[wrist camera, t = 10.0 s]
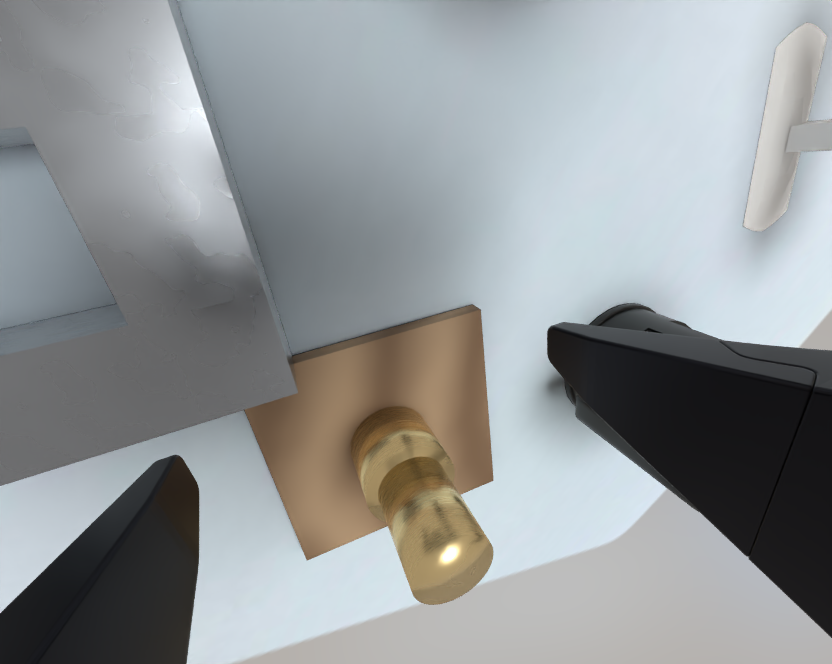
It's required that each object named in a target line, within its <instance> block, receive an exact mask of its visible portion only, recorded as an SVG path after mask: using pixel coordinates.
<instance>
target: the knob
mask: <svg viewBox="0 0 832 664" xmlns="http://www.w3.org/2000/svg"><path fill="white" fill-rule="evenodd" d="M350 450H351V456H352V459H353V462H354V465H355V468H356V471H357V474H358V478H359V481H360V484H361V487H362V490H363V493H364V496H365V499H366V502H367V505H368V508H369V510H370V511H371V513H372V514H373V515H374V516H375V517H376V518H378V519H379V520H381V521H384V522H387V525H388V528H389V530H390V533H391V536H392V539H393V541H394V544H395V547H396V550H397V552H398V555H399V558H400V561H401V563H402V566H403V569H404V572H405V574H406V577H407V580H408V582H409V585H410V588H411V591H412V593H413V596H414V597H415V598H416V599H417V600H418V601H419V602H421V603H424V604H429V605H434V604H442V603H446V602H449V601H452V600H454V599H456V598H458V597H460V596H462V595H463V594H465V593H467V592H468V591H469V590H471V589H472V588H473V587H474V586H475V585H477V584H478V583H479V581H480V580H481V579H482V578H483V577H484V575H485V574H486V573H487V571H488V569H489V567H490V565H491V563H492V559H493V547H492V545H491V543H490V542H489V540H488V538H487V537H486V535H485V534H484V532H483V530H482V529H481V527H480V526H479V524H478V522H477V521H476V519H475V518H474V516H473V515H472V513H471V511H470V510H469V508H468V507H467V505H466V503H465V502H464V500H463V499H462V497H461V495H460V494H459V492H458V491H457V489H456V487H455V486H454V484H453V481H454V475H455V470H454V465H453V462H452V460H451V459H450V457H449V456H448V454H447V453H446V451H445V450H444V448H443V447H442V445H441V444H440V442H439V441H438V439H437V438H436V436H435V435H434V433H433V432H432V430H431V429H430V428H429V426H428V425H427V423H426V422H425V420H424V419H423V417H422V416H421V415H420V414H419V413H418V412H417V411H415V410H413V409H411V408H408V407H403V406H393V407H387V408H384V409H381V410H379V411H377V412H375V413H373V414H371V415H370V416H368V417H367V418H366V419H365V420H364V421H363V422H362V423H361V424H360V425H359V426H358V428H357V429H356V431H355V433H354V435H353V437H352V441H351V446H350Z"/></svg>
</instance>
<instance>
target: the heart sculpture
mask: <svg viewBox="0 0 832 664" xmlns="http://www.w3.org/2000/svg"><path fill="white" fill-rule="evenodd" d="M826 40H827V36H826V35H825V33H824V32H823V31H822V30H821V29H820V28H818V27H817V26H816V25H814V24H810V23H807V22H806V23H805V24H803V25H801V26H799V27H798V28H796V29H795V30H794V31H793V32H792V33H790V34H789V35H788V36H787V37H786V38H785V39H784V40H783V41H782V42H781V43H780V44H779V45H778V46H777V47H776V51H775V56H774V61H773V67H772V72H771V78H770V83H769V88H768V94H767V99H766V105H765V110H764V115H763V121H762V126H761V131H760V137H759V142H758V148H757V153H756V158H755V164H754V169H753V175H752V180H751V185H750V191H749V196H748V202H747V207H746V212H745V218H744V223H743V226H744V227H746V228H748V229H750V230H753V231H764V230H765V229H767V228H768V227H770V226H771V225H772V224H773V223H774V222H775V221H777V220H778V219H779V218H780V217H781V216H782V215H783V214H784V213H785V212H786V211H787V208H788V204H789V200H790V195H791V191H792V187H793V182H794V178H795V174H796V169H797V165H798V161H799V157H800V152H807V151H830V150H832V119H829V120H819V121H809V122H808V118H809V114H810V109H811V105H812V101H813V96H814V92H815V88H816V83H817V79H818V75H819V71H820V66H821V62H822V58H823V53H824V49H825V45H826Z"/></svg>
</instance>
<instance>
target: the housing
mask: <svg viewBox="0 0 832 664" xmlns="http://www.w3.org/2000/svg"><path fill="white" fill-rule="evenodd" d="M30 144H35V146H36V148H37V150H38V152H39V154H40V156H41V158H42V160H43V162H44V164H45V165H46V167H47V169H48V171H49V173H50V175H51V177H52V179H53V181H54V183H55V185H56V187H57V189H58V191H59V193H60V194H61V196H62V198H63V200H64V202H65V204H66V206H67V208H68V210H69V212H70V214H71V216H72V218H73V220H74V221H75V223H76V225H77V227H78V229H79V231H80V233H81V235H82V237H83V239H84V241H85V243H86V245H87V247H88V248H89V250H90V252H91V254H92V256H93V258H94V260H95V262H96V264H97V266H98V268H99V270H100V272H101V274H102V276H103V277H104V279H105V281H106V283H107V285H108V287H109V289H110V291H111V293H112V295H113V297H114V299H115V301H116V303H117V304H113V305H109V306H104V307H100V308H95V309H91V310H86V311H82V312H77V313H73V314H68V315H64V316H59V317H55V318H51V319H46V320H42V321H37V322H33V323H28V324H24V325H19V326H15V327H10V328H6V329H1V330H0V486H2V485H5V484H8V483H11V482H14V481H18V480H21V479H24V478H27V477H30V476H34V475H37V474H40V473H43V472H46V471H50V470H53V469H56V468H59V467H62V466H66V465H69V464H72V463H75V462H78V461H82V460H85V459H88V458H91V457H94V456H98V455H101V454H104V453H107V452H111V451H114V450H117V449H120V448H123V447H127V446H130V445H133V444H136V443H139V442H143V441H146V440H149V439H152V438H155V437H159V436H162V435H165V434H168V433H171V432H175V431H178V430H181V429H184V428H187V427H191V426H194V425H197V424H200V423H203V422H207V421H210V420H213V419H216V418H219V417H223V416H226V415H229V414H232V413H235V412H239V411H242V410H245V409H248V408H252V407H255V406H258V405H261V404H264V403H268V402H271V401H274V400H277V399H280V398H284V397H287V396H290V395H293V394H296V393H298V389H297V382H296V376H295V370H294V364H293V358H292V354H291V351H290V348H289V345H288V342H287V339H286V335H285V332H284V329H283V326H282V323H281V320H280V317H279V314H278V311H277V308H276V305H275V302H274V299H273V295H272V292H271V289H270V286H269V283H268V280H267V277H266V274H265V271H264V268H263V265H262V262H261V259H260V255H259V252H258V249H257V246H256V243H255V240H254V237H253V234H252V231H251V228H250V225H249V222H248V219H247V216H246V212H245V209H244V206H243V203H242V200H241V197H240V194H239V191H238V188H237V185H236V182H235V179H234V176H233V172H232V169H231V166H230V163H229V160H228V157H227V154H226V151H225V148H224V145H223V142H222V139H221V136H220V132H219V129H218V126H217V123H216V120H215V117H214V114H213V111H212V108H211V105H210V102H209V99H208V96H207V92H206V89H205V86H204V83H203V80H202V77H201V74H200V71H199V68H198V65H197V62H196V59H195V56H194V53H193V49H192V46H191V43H190V40H189V37H188V34H187V31H186V28H185V25H184V22H183V19H182V16H181V13H180V9H179V6H178V3H177V0H0V148H5V147H14V146H22V145H30Z"/></svg>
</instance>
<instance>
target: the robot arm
mask: <svg viewBox="0 0 832 664" xmlns="http://www.w3.org/2000/svg"><path fill="white" fill-rule="evenodd" d="M547 354H548V358H549V360H550V362H551V364H552V365H553V366H554V367H555V368H556V369H557V371H558V372H559V373H560V374H561V375H562V376H563V378H564V379H565V380H566V381H567V382H568V383H569V385H570V386H571V387H572V388H573V389H574V390H575V392H576V393H577V394H578V395H579V396H580V397H581V398H582V400H583V401H584V402H585V403H586V404H587V405H588V406H589V407H590V408H591V409H592V410H593V411H594V412H595V413H596V414H597V415H598V416H599V417H600V418H601V419H603V420H604V421H605V422H606V423H607V424H608V425H609V426H610V427H611V428H612V429H613V430H614V431H615V432H616V433H617V434H618V435H619V436H620V437H621V438H622V439H624V440H625V441H626V442H627V443H628V444H629V445H630V446H631V447H632V448H633V449H634V450H635V451H636V452H637V453H638V454H639V455H640V456H641V457H642V458H644V459H645V460H646V461H647V462H648V463H649V464H650V465H651V466H652V467H653V468H654V469H655V470H656V471H657V472H658V473H659V474H660V475H661V476H662V477H663V478H665V479H666V480H667V481H668V482H669V483H670V484H671V485H672V486H673V487H674V488H675V489H676V490H677V491H678V492H679V493H680V494H681V495H682V496H683V497H685V498H686V499H687V500H688V501H689V502H690V503H691V504H692V505H693V506H694V507H695V508H696V509H697V510H698V511H699V512H700V513H701V514H702V515H704V517H706V518H707V519H708V520H709V521H710V522H711V523H712V524H713V525H714V526H715V527H716V528H717V529H718V530H719V531H720V532H721V533H722V534H723V535H724V536H726V537H727V538H728V539H729V540H730V541H731V542H732V543H733V544H734V545H735V546H736V547H737V548H738V549H739V550H740V551H741V552H742V553H743V554H744V555H746V556H749V560H750V561H751V562H752V563H754V564H755V565H756V566H757V567H758V568H759V569H760V570H761V571H762V572H763V573H764V574H765V575H766V576H767V577H768V578H769V579H770V580H771V581H772V582H773V583H775V584H776V585H777V586H778V587H779V588H780V589H781V590H782V591H783V592H784V593H785V594H786V595H787V596H788V597H789V598H790V599H791V600H792V601H794V603H796V604H797V605H798V606H799V607H800V608H801V609H802V610H803V611H804V612H805V613H806V614H807V615H808V616H809V617H810V618H811V619H812V620H814V622H815V623H817V624H818V625H819V626H820V627H821V628H822V629H823V630H824V631H825V632H826V633H827V634H828V635H829V636H830V637H831V638H832V351H830V350H817V349H805V348H793V347H781V346H770V345H760V344H751V343H741V342H732V341H724V340H720V341H718V340H714V339H706V338H697V337H688V336H680V335H671V334H662V333H654V332H645V331H636V330H628V329H619V328H610V327H602V326H593V325H584V324H575V323H567V322H562V323H559V324H556V325H553V326H551V327H549V329H548V331H547ZM198 564H199V488H198V484H197V482H196V480H195V478H194V477H193V475H192V473H191V472H190V470H189V468H188V467H187V465H186V463H185V462H184V460H183V459H182V458H181V457H180V456H178V455H173V456H170V457H167V458H164V459H161V460H158V461H156V462H155V463H153V464H152V465H151V466H150V467H149V468H148V469H147V470H146V471H145V472H144V473H143V474H142V475H141V476H140V477H139V478H138V479H137V480H136V481H135V482H134V483H133V484H132V485H131V486H130V487H129V488H128V489H127V490H126V491H125V492H124V493H123V494H122V495H121V496H120V497H119V498H118V499H117V500H116V501H115V502H114V503H113V504H112V505H111V506H109V507H108V508H107V509H106V510H105V511H104V512H103V513H102V514H101V515H100V516H99V517H98V518H97V519H96V520H95V521H94V522H93V523H92V524H91V525H90V526H89V527H88V528H87V529H86V530H85V531H84V532H83V533H82V534H81V535H80V536H79V537H78V538H77V539H76V540H75V541H74V542H73V543H72V544H71V545H70V546H69V547H68V548H67V549H66V550H65V551H63V552H62V553H61V554H60V555H59V556H58V557H57V558H56V559H55V560H54V561H53V562H52V563H51V564H50V565H49V566H48V567H47V568H46V569H45V570H44V571H43V572H42V573H41V574H40V575H39V576H38V577H37V578H36V579H35V580H34V581H33V582H32V583H31V584H30V585H29V586H28V587H27V588H26V589H25V590H24V591H23V592H22V593H21V594H20V595H18V596H17V597H16V598H15V599H14V600H13V601H12V602H11V603H10V604H9V605H8V606H7V607H6V608H5V609H4V610H3V611H2V612H1V613H0V664H186V663H187V655H188V647H189V639H190V631H191V623H192V615H193V607H194V599H195V591H196V583H197V574H198Z"/></svg>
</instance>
